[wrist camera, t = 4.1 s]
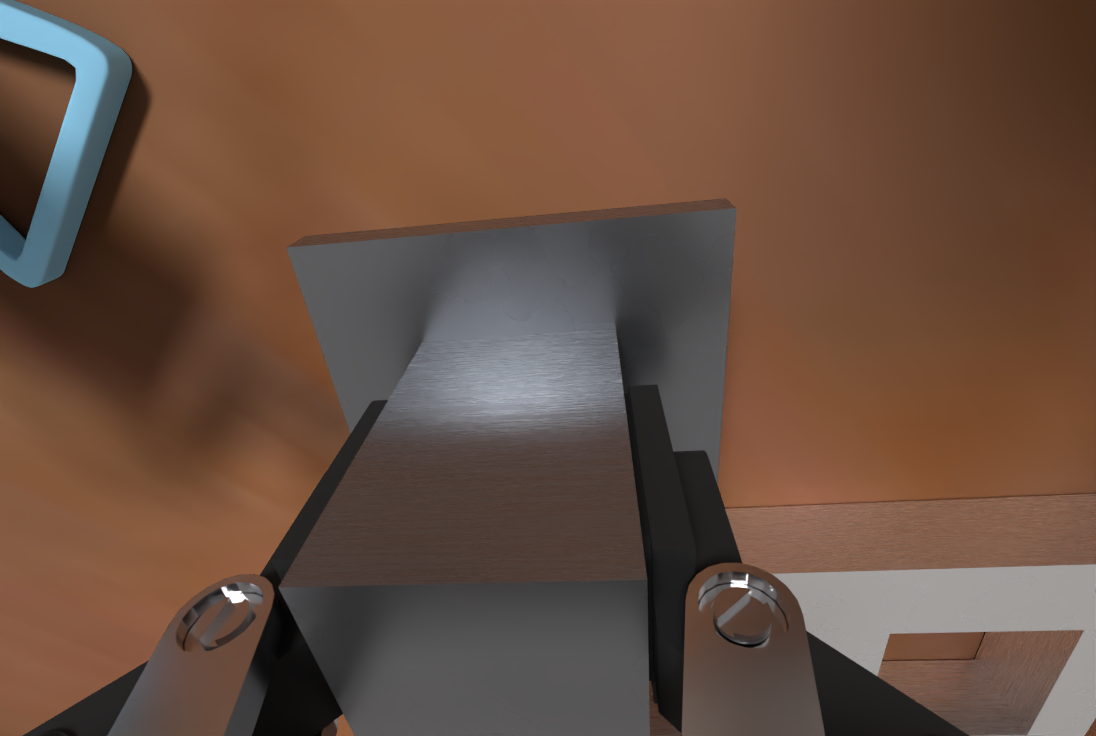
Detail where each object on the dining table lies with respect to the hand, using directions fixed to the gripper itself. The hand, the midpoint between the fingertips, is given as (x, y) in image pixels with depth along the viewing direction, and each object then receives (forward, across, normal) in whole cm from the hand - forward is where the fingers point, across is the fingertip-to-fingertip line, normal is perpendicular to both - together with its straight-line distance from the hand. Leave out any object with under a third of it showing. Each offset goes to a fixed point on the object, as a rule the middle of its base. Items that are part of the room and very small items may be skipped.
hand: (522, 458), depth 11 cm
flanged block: (+5, 0, 0) cm, 5 cm away
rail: (+6, -8, +14) cm, 17 cm away
